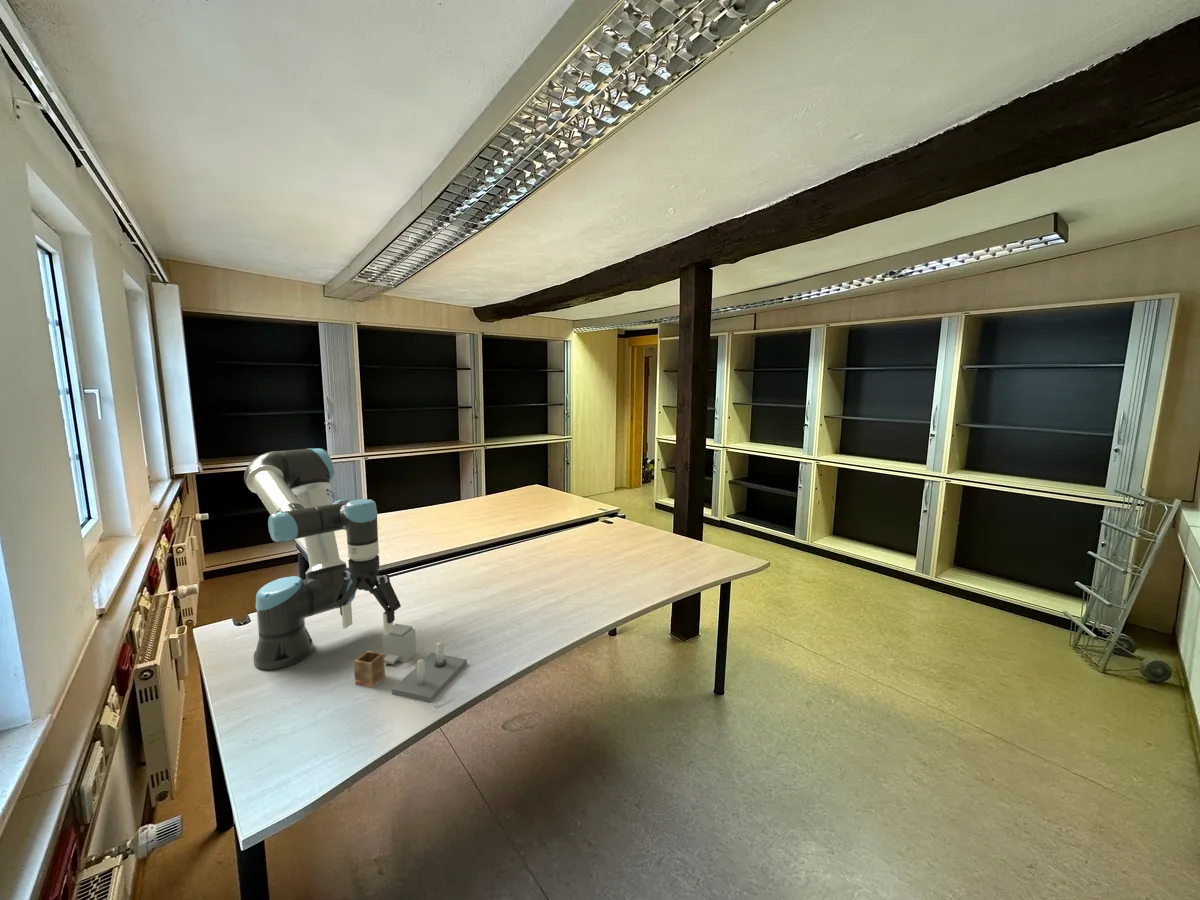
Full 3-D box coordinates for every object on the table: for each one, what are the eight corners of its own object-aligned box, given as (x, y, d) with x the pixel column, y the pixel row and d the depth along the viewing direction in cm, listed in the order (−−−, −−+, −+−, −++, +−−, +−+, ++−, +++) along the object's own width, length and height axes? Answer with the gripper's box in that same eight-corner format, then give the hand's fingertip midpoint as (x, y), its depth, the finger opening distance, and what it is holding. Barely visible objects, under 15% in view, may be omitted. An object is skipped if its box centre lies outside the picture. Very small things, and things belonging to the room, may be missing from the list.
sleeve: (355, 684, 129) (353, 661, 128) (369, 672, 134) (368, 650, 133) (371, 687, 128) (370, 664, 127) (385, 676, 133) (383, 653, 132)
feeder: (376, 663, 139) (374, 636, 138) (394, 649, 146) (393, 623, 145) (398, 668, 137) (397, 640, 136) (416, 653, 144) (415, 626, 143)
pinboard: (392, 694, 125) (390, 665, 124) (431, 657, 142) (431, 631, 141) (430, 702, 122) (429, 672, 121) (466, 663, 139) (466, 637, 138)
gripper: (315, 556, 125) (320, 629, 128) (393, 566, 119) (397, 643, 122) (337, 547, 133) (341, 617, 135) (412, 556, 127) (415, 629, 129)
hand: (367, 629), depth 129 cm, fingers open, 13 cm apart
